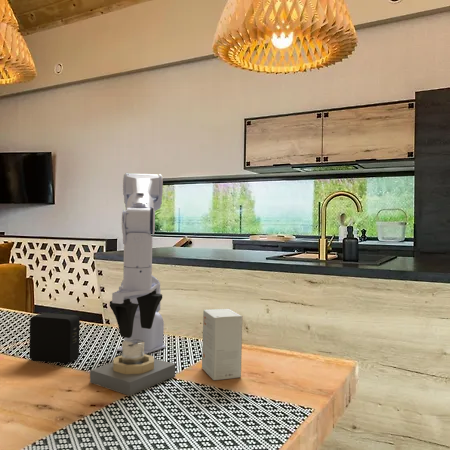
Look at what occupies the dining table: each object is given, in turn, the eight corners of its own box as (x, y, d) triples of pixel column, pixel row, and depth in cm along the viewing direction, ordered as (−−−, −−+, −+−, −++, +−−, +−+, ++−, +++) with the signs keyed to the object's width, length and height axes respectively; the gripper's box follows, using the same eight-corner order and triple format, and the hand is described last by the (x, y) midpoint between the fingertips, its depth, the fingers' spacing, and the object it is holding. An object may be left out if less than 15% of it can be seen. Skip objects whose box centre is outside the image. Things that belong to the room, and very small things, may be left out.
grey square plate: (136, 365, 102) (137, 347, 102) (175, 376, 96) (175, 357, 96) (89, 382, 92) (90, 362, 91) (129, 395, 85) (130, 374, 85)
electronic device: (69, 364, 102) (70, 319, 102) (29, 360, 104) (29, 316, 104) (79, 358, 106) (79, 315, 106) (40, 354, 108) (40, 312, 108)
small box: (241, 378, 96) (243, 315, 96) (212, 381, 94) (214, 317, 94) (228, 365, 104) (229, 307, 103) (201, 368, 102) (202, 309, 101)
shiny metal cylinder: (129, 361, 97) (129, 338, 97) (147, 364, 95) (148, 340, 95) (117, 368, 93) (118, 343, 92) (136, 371, 91) (137, 346, 91)
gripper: (140, 261, 102) (139, 322, 103) (99, 268, 89) (98, 338, 89) (168, 263, 100) (166, 326, 100) (130, 271, 86) (129, 343, 87)
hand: (136, 332), depth 95 cm, fingers open, 7 cm apart
